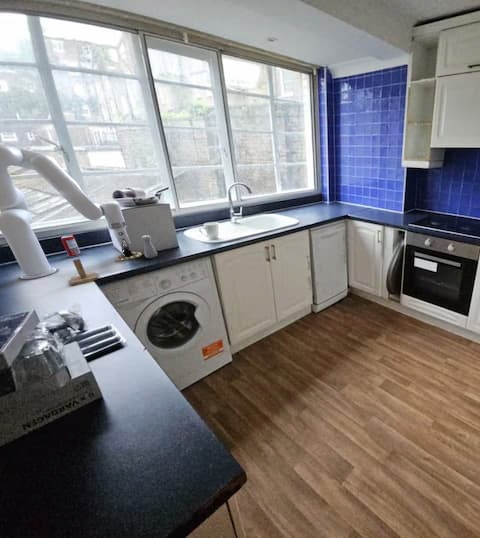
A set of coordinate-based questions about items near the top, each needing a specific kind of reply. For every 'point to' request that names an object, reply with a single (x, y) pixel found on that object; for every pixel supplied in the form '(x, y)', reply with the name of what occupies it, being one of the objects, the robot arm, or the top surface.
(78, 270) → the peg stand
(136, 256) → the ring
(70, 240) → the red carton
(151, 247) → the salt shaker
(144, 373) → the top surface
